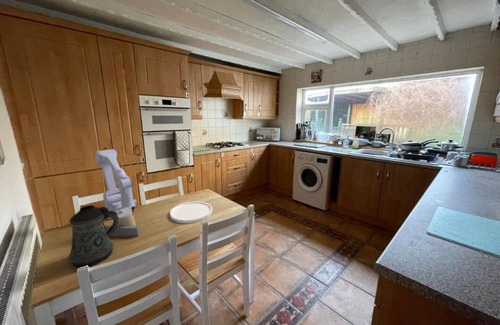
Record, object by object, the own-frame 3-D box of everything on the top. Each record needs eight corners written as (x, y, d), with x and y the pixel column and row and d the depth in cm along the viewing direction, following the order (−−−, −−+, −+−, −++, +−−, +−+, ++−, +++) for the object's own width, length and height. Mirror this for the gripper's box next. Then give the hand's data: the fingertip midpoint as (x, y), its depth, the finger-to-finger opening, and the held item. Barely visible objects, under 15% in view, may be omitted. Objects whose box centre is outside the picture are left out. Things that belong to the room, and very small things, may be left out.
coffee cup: (140, 222, 122) (135, 207, 116) (128, 234, 115) (122, 220, 108) (128, 218, 125) (121, 204, 118) (115, 230, 117) (108, 215, 111)
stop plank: (101, 235, 112) (100, 227, 111) (104, 233, 114) (103, 225, 113) (138, 236, 112) (137, 228, 111) (140, 233, 115) (139, 225, 113)
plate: (213, 221, 130) (213, 217, 129) (167, 226, 123) (166, 222, 123) (211, 202, 156) (211, 199, 156) (172, 206, 150) (172, 203, 149)
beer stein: (62, 262, 92) (50, 212, 86) (106, 238, 110) (99, 195, 104) (84, 273, 86) (73, 220, 80) (127, 247, 103) (120, 201, 97)
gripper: (127, 204, 111) (130, 225, 115) (140, 193, 125) (142, 212, 129) (114, 203, 111) (117, 225, 115) (128, 193, 125) (131, 212, 129)
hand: (130, 218), depth 122 cm, fingers closed, pressing on coffee cup
